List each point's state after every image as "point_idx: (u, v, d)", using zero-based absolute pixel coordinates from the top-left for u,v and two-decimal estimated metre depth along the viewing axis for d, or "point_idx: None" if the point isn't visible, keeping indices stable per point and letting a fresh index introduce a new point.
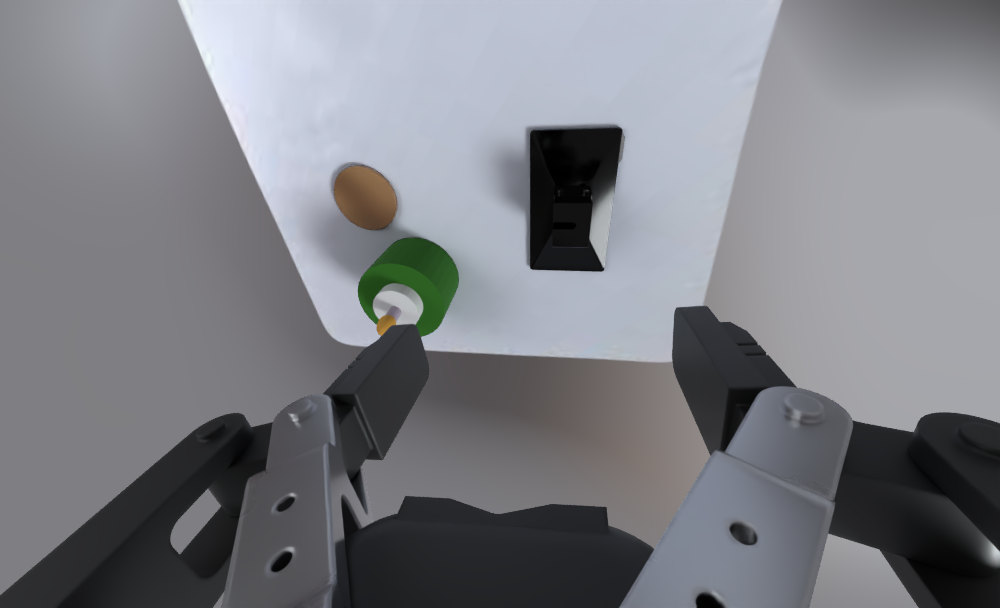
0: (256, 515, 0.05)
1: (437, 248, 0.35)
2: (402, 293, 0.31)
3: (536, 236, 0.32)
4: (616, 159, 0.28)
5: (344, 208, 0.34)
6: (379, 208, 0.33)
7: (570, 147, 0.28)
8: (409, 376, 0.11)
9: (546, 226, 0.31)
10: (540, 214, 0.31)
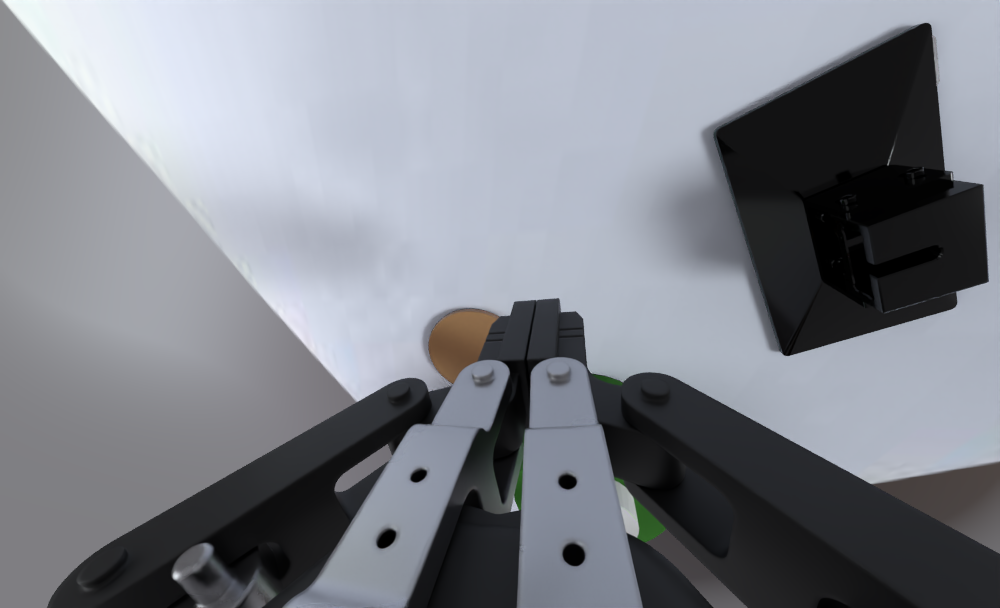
0: (396, 471, 0.05)
1: (604, 381, 0.21)
2: None
3: (782, 299, 0.17)
4: (931, 87, 0.13)
5: (451, 375, 0.23)
6: None
7: (812, 117, 0.14)
8: None
9: (802, 275, 0.16)
10: (781, 260, 0.16)
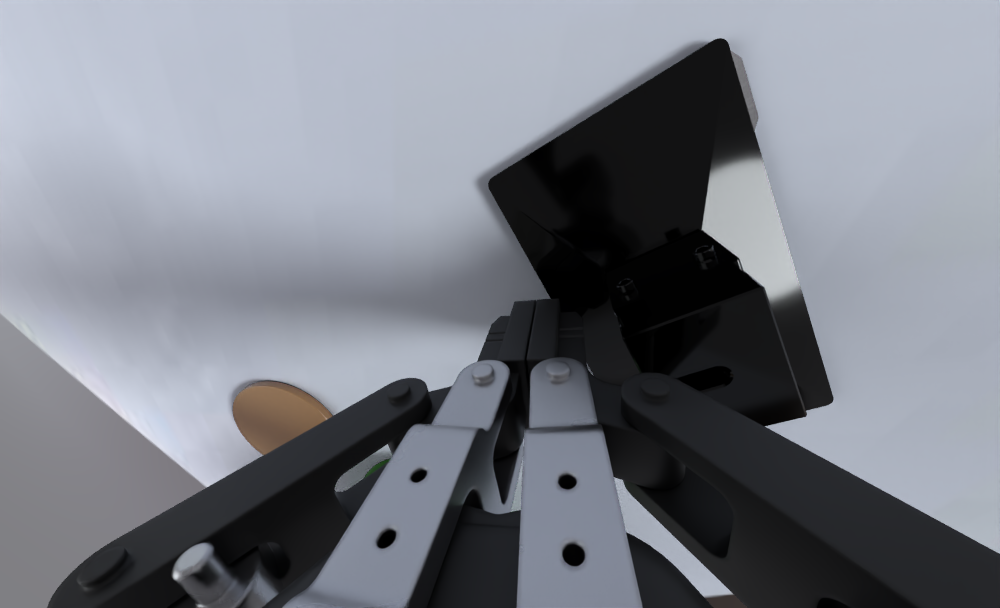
0: (397, 471, 0.05)
1: None
2: None
3: None
4: (745, 127, 0.09)
5: None
6: None
7: (598, 166, 0.10)
8: None
9: (629, 361, 0.12)
10: (602, 342, 0.13)
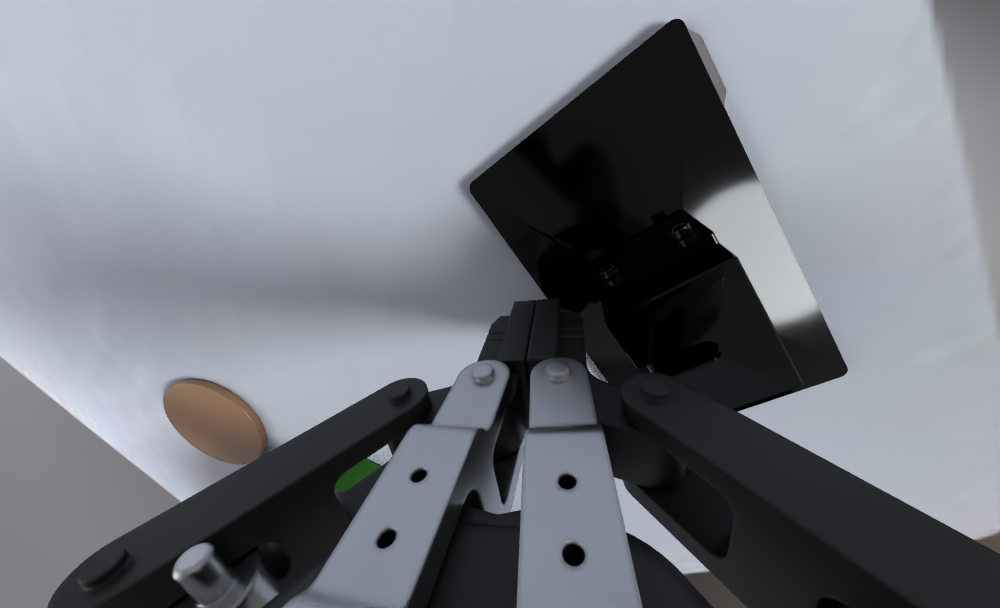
0: (397, 470, 0.05)
1: None
2: None
3: (620, 376, 0.13)
4: (713, 102, 0.09)
5: (201, 446, 0.21)
6: (236, 431, 0.20)
7: (572, 158, 0.10)
8: None
9: None
10: (599, 332, 0.13)
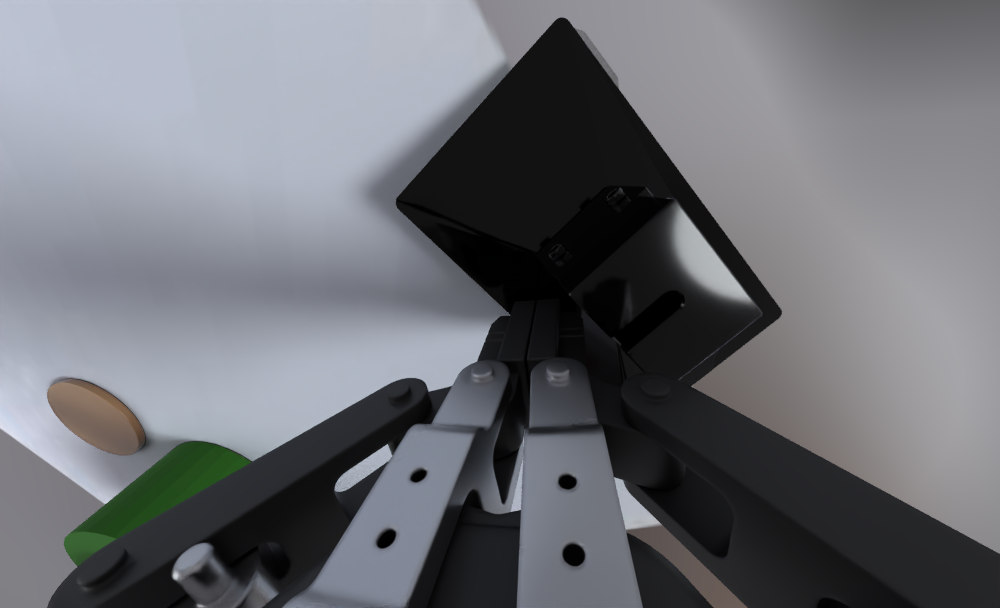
0: (397, 471, 0.05)
1: (205, 451, 0.21)
2: None
3: (589, 369, 0.13)
4: (609, 87, 0.10)
5: (88, 439, 0.23)
6: (113, 425, 0.22)
7: (495, 156, 0.10)
8: None
9: (591, 337, 0.12)
10: None
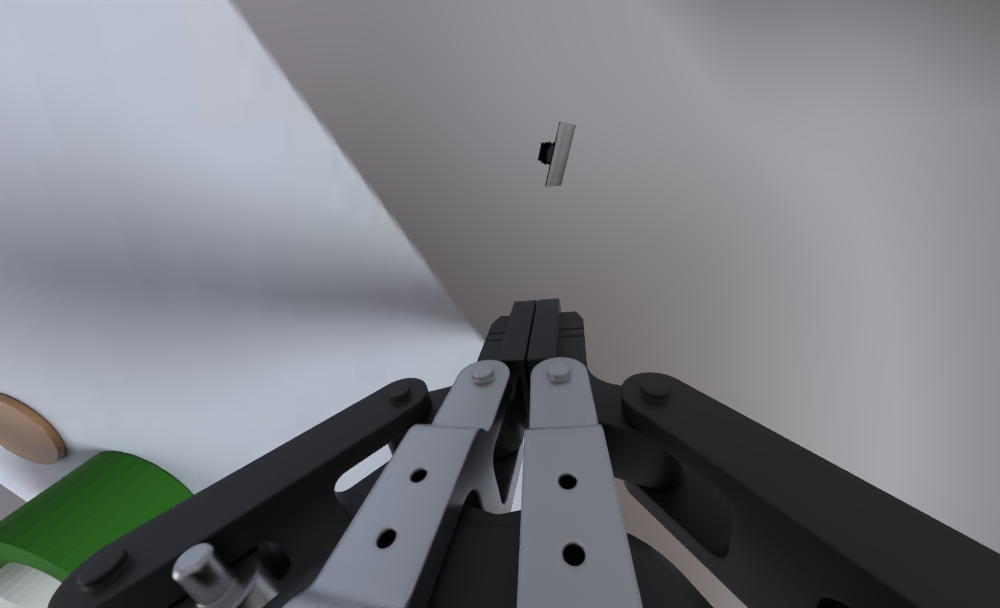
0: (396, 471, 0.05)
1: (117, 461, 0.22)
2: None
3: None
4: (556, 134, 0.70)
5: (12, 449, 0.24)
6: (32, 435, 0.23)
7: None
8: None
9: None
10: None
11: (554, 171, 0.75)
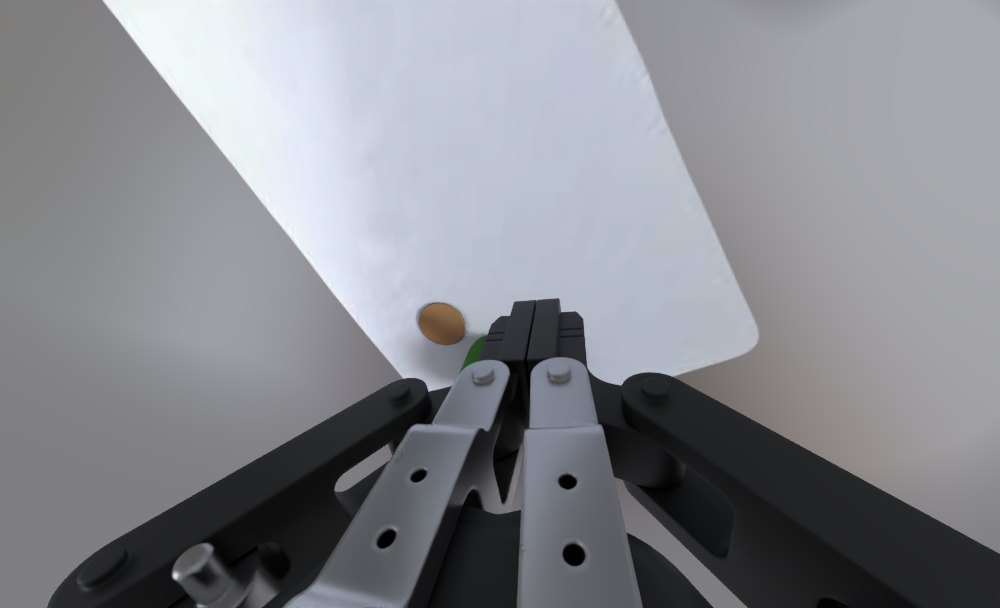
0: (396, 471, 0.05)
1: None
2: None
3: None
4: None
5: (430, 336, 0.46)
6: (453, 326, 0.45)
7: None
8: None
9: None
10: None
11: None
